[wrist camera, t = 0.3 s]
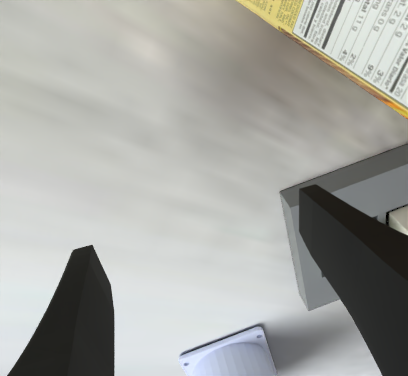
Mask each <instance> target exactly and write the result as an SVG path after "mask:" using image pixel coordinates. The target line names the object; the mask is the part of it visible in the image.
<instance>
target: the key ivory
mask: <svg viewBox="0 0 408 376" xmlns="http://www.w3.org/2000/svg"><path fill="white" fill-rule="evenodd" d="M389 227H391V228H393V229H395V230H397V231H399V232H402V233H404V234H406V235H408V206H405V207H402V208H400V209H397V210H395V211H392V212H389Z"/></svg>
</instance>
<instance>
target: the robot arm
mask: <svg viewBox="0 0 408 376" xmlns="http://www.w3.org/2000/svg"><path fill="white" fill-rule="evenodd" d="M299 233H300V235H301V237H302V239H303V241H304V243H305V245H306V247H307V249H308V251H309V253H310V255H311V256H312V258H313V259H314V261H315V262H316V264H317V265H318V267H319V268H320V270H321V271H322V273H323V274H324V276H325V277H326V279H327V280H328V282H329V283H330V285H331V286H332V288H333V289H334V291H335V292H336V293H337V295H338V296H339V298H340V299H341V301H342V302H343V304H344V305H345V307H346V308H347V310H348V312H349V313H350V315H351V316H352V318H353V320H354V322H355V324H356V325H357V327H358V329H359V331H360V333H361V335H362V337H363V338H364V340H365V342H366V344H367V346H368V348H369V350H370V352H371V354H372V356H373V358H374V360H375V362H376V363H377V365H378V367H379V369H380V371H381V373H382V376H408V235H406V234H404V233H402V232H399V231H397V230H395V229H393V228H391V227H389V226H387V225H385V224H383V223H381V222H379V221H378V220H376V219H374V218H372V217H370V216H368V215H367V214H365V213H363V212H361V211H359V210H358V209H356V208H354V207H353V206H351V205H349V204H348V203H346V202H344V201H343V200H341V199H339V198H338V197H336V196H334V195H333V194H331V193H330V192H328V191H326V190H325V189H323V188H321V187H320V186H318V185H316V184H314V185H310V186H307V187H303V188H299ZM179 363H180V365H181V367H182V368H183V370H184V371H185V373H186V374H187V376H277V371H276V368H275V365H274V362H273V359H272V356H271V353H270V350H269V347H268V344H267V341H266V338H265V334H264V331H263V329H262V327H255V328H252V329H250V330H247V331H244V332H242V333H239V334H236V335H234V336H231V337H229V338H226V339H223V340H221V341H218V342H216V343H213V344H210V345H208V346H205V347H202V348H200V349H197V350H195V351H192V352H189V353H187V354H184V355H182V356H180V357H179ZM7 376H114V307H113V299H112V291H111V284H110V282H109V280H108V278H107V276H106V274H105V271H104V269H103V267H102V265H101V263H100V261H99V258H98V256H97V254H96V252H95V250H94V248H93V245H89V246H86V247H82V248H78V249H75V250H73V252H72V253H71V256H70V258H69V261H68V263H67V266H66V268H65V271H64V273H63V275H62V278H61V280H60V282H59V285H58V287H57V289H56V291H55V293H54V295H53V298H52V300H51V302H50V304H49V306H48V308H47V310H46V312H45V314H44V316H43V318H42V319H41V321H40V323H39V325H38V327H37V329H36V331H35V333H34V334H33V336H32V338H31V340H30V341H29V343H28V345H27V346H26V348H25V350H24V351H23V353H22V354H21V356H20V357H19V359H18V361H17V362H16V364H15V365H14V367H13V368H12V370H11V371H10V372H9V374H8V375H7Z"/></svg>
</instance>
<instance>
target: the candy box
mask: <svg viewBox="0 0 408 376" xmlns="http://www.w3.org/2000/svg"><path fill="white" fill-rule="evenodd" d="M236 1H238V2H239V3H240V4H242V5H243V6H245V7H246V8H248V9H249V10H251V11H252V12H254V13H255V14H257V15H258V16H259V17H261V18H262V19H264V20H265V21H266V22H268V23H269V24H271V25H272V26H273V27H275V28H276V29H278V30H279V31H280V32H282V33H283V34H285V35H286V36H288V37H289V38H290V39H292V40H293V41H295V42H296V43H298V44H299V45H301V46H302V47H304V48H305V49H306V50H308V51H309V52H311V53H312V54H314V55H315V56H317V57H318V58H319V59H321V60H322V61H324V62H325V63H327V64H328V65H330V66H331V67H333V68H335V69H336V70H337V71H339V72H340V73H342V74H343V75H345V76H346V77H348V78H349V79H350V80H352V81H353V82H354V83H356V84H357V85H359V86H360V87H362V88H363V89H364V90H366V91H367V92H369V93H370V94H372V95H373V96H375V97H376V98H378V99H379V100H380V101H382V102H383V103H385V104H386V105H388V106H389V107H391V108H392V109H394V110H395V111H397V112H398V113H399V114H401V115H402V116H404V117H405V118H406V119H408V0H236Z"/></svg>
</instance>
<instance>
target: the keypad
mask: <svg viewBox="0 0 408 376" xmlns="http://www.w3.org/2000/svg"><path fill="white" fill-rule="evenodd" d="M314 184H316V185H318V186H320V187H321V188H323V189H325V190H326V191H328V192H330V193H331V194H333V195H334V196H336V197H338V198H339V199H341V200H343V201H344V202H346V203H348V204H349V205H351V206H353V207H354V208H356V209H358V210H359V211H361V212H363V213H365V214H367V215H368V216H370V217H372V218H374V219H376V220H378V221H379V222H381V223H383V224H386V212H388V211H390V210H393V209H396V208H398V207H401V206H404V205H406V204H408V144H406V145H403V146H401V147H398V148H395V149H393V150H390V151H387V152H385V153H382V154H379V155H377V156H374V157H371V158H369V159H366V160H363V161H361V162H358V163H355V164H353V165H350V166H347V167H345V168H342V169H339V170H336V171H334V172H331V173H328V174H326V175H323V176H320V177H318V178H315V179H312V180H310V181H307V182H304V183H302V184H299V185H296V186H294V187H291V188H288V189H286V190H283V191H280V197H281V202H282V207H283V212H284V217H285V222H286V228H287V233H288V238H289V243H290V248H291V253H292V259H293V264H294V269H295V274H296V279H297V284H298V290H299V294H300V296H301V298H302V300H303V302H304V304H305V305H306V307H307V309H308V311H310V310H313V309H316V308H318V307H321V306H323V305H326V304H329V303H331V302H334V301H337V300H339V299H340V298H339V296H338V295H337V293H336V292H335V291H334V289H333V288H332V286H331V285H330V283H329V282H328V280H327V279H326V277H325V276H324V274H323V273H322V271H321V270H320V268H319V267H318V265H317V264H316V262H315V261H314V259H313V258H312V256H311V255H310V253H309V251H308V249H307V247H306V245H305V243H304V241H303V239H302V237H301V235H300V233H299V188H303V187H307V186H310V185H314Z"/></svg>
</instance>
